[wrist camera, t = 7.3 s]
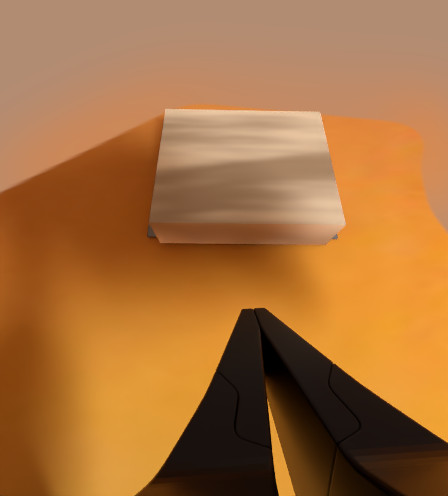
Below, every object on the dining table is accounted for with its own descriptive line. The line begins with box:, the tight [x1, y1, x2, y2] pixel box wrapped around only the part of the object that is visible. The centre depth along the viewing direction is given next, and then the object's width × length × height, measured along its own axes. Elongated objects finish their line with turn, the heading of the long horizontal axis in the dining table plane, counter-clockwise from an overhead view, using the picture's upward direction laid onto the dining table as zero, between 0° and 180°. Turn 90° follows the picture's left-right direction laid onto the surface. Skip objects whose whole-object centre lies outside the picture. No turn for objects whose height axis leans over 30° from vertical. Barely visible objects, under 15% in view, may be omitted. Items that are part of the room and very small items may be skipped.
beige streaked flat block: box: [149, 109, 346, 245], centre depth 18 cm, size 3×12×10 cm
